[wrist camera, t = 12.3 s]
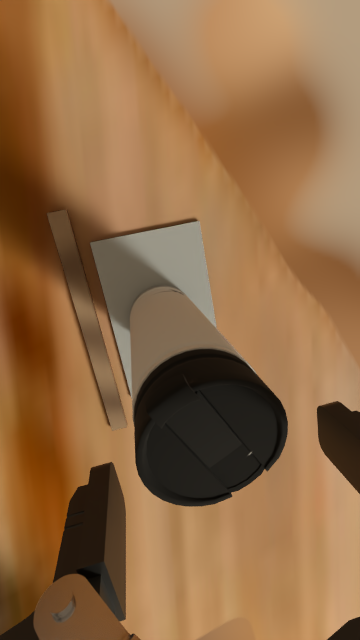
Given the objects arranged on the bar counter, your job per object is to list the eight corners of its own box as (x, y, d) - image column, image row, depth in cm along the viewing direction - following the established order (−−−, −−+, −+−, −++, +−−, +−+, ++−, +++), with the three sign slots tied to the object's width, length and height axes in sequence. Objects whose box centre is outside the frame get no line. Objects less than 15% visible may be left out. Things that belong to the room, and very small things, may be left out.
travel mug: (166, 268, 29) (239, 338, 10) (205, 321, 31) (326, 461, 12) (113, 308, 29) (89, 450, 10) (156, 358, 32) (199, 552, 13)
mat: (90, 242, 28) (89, 242, 28) (198, 220, 29) (199, 220, 29) (131, 396, 33) (131, 398, 32) (223, 373, 34) (224, 375, 33)
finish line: (48, 213, 27) (46, 213, 26) (67, 209, 27) (65, 209, 26) (112, 427, 33) (112, 430, 33) (127, 423, 34) (127, 427, 33)
